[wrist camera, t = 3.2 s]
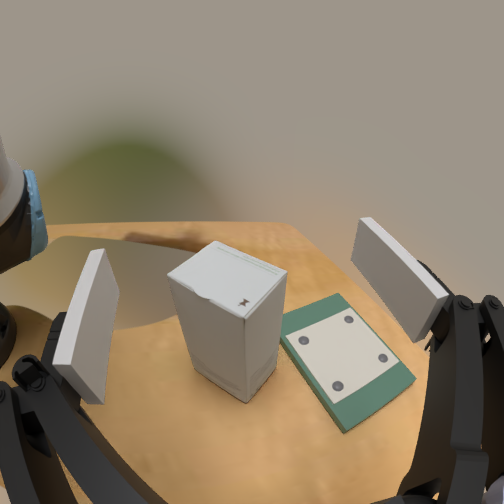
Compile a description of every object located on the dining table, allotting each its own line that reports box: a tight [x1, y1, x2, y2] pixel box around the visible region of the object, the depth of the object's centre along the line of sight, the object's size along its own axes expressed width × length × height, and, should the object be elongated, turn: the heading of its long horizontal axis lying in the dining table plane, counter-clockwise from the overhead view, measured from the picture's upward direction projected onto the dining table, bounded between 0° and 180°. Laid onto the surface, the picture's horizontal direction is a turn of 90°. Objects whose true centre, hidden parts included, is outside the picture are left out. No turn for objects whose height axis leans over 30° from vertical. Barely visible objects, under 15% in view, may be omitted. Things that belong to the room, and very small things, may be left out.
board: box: [280, 293, 417, 434], centre depth 33 cm, size 18×12×2 cm, turn 25°
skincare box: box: [167, 241, 287, 403], centre depth 27 cm, size 8×7×16 cm
